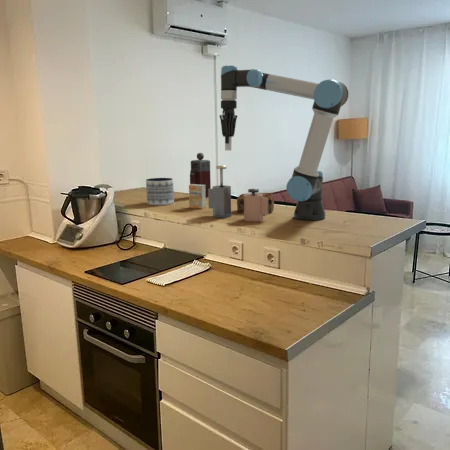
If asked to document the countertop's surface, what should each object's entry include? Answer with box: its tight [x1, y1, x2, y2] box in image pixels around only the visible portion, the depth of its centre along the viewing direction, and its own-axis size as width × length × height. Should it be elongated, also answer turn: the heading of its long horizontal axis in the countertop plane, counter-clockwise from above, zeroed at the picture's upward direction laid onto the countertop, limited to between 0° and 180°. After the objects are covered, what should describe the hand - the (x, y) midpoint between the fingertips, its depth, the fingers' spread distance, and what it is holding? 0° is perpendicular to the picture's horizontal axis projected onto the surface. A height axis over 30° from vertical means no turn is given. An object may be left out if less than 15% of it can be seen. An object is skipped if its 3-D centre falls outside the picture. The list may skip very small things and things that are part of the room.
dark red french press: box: [189, 152, 212, 198], centre depth 296 cm, size 9×11×28 cm
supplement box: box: [188, 184, 207, 210], centre depth 258 cm, size 8×5×13 cm, turn 68°
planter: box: [145, 177, 175, 206], centre depth 276 cm, size 16×16×14 cm
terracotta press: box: [243, 193, 269, 222], centre depth 224 cm, size 9×12×12 cm
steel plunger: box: [215, 165, 227, 187], centre depth 231 cm, size 5×5×13 cm
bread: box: [236, 192, 275, 214], centre depth 246 cm, size 19×11×10 cm, turn 77°
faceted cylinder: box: [207, 184, 232, 219], centre depth 234 cm, size 9×12×15 cm
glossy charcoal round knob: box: [247, 188, 260, 196], centre depth 224 cm, size 5×5×12 cm
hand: (228, 150), depth 226 cm, fingers closed
